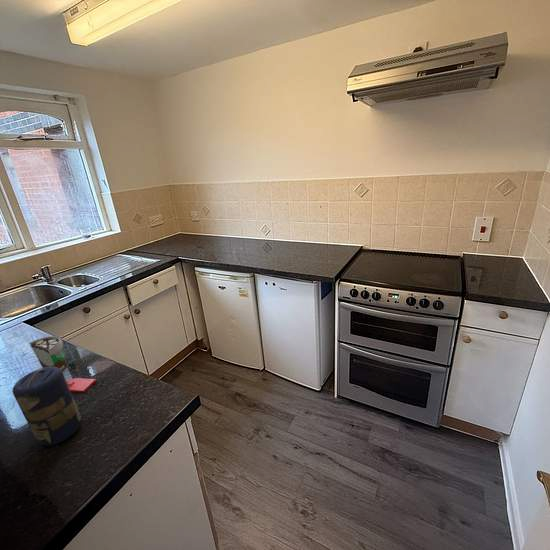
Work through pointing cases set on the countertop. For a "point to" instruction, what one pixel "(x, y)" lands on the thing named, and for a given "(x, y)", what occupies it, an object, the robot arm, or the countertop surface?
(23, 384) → the canister
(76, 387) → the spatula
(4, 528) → the countertop surface
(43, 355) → the food container
